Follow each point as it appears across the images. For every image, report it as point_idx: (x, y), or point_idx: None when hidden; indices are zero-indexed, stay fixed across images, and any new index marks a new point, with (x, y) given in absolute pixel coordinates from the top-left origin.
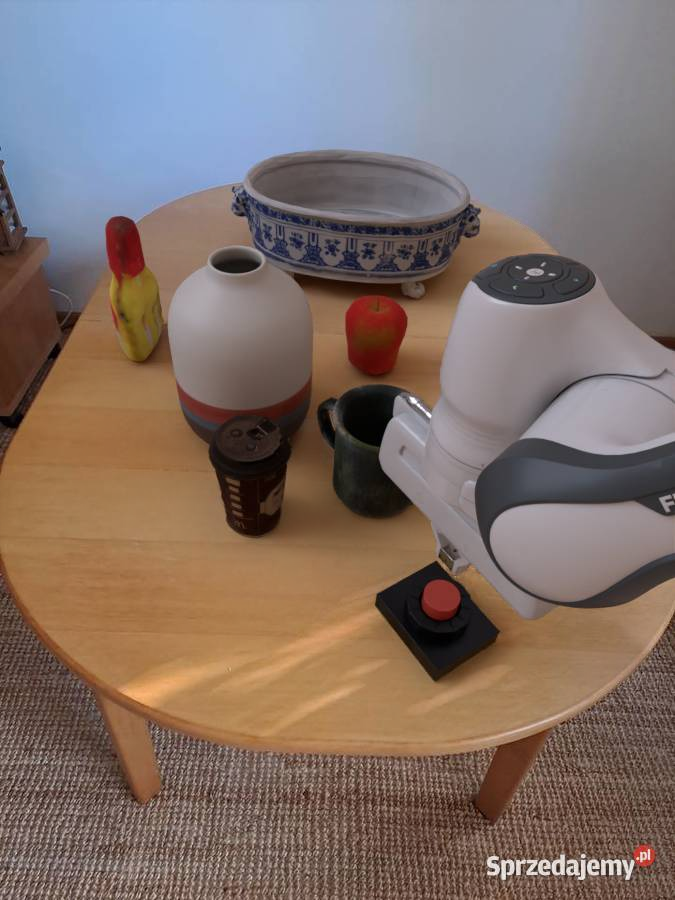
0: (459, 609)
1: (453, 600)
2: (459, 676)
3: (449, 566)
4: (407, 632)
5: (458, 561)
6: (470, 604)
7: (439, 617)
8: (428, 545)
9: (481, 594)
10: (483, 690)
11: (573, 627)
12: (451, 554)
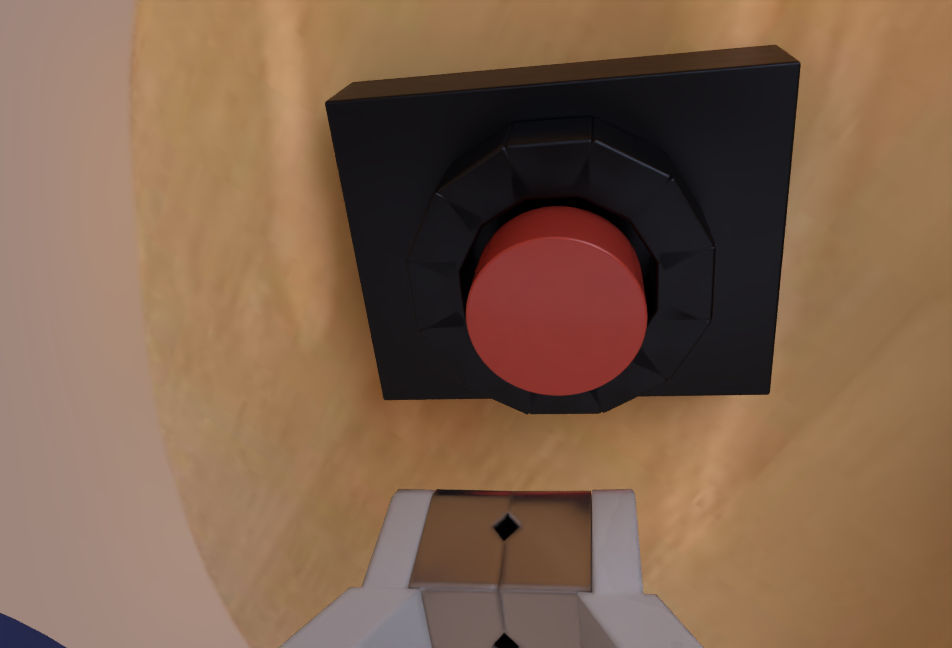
0: None
1: (505, 347)
2: (338, 180)
3: (460, 513)
4: (540, 86)
5: (346, 640)
6: (486, 388)
7: (488, 246)
8: (865, 401)
9: (575, 428)
10: (265, 222)
11: (353, 556)
12: (486, 611)
